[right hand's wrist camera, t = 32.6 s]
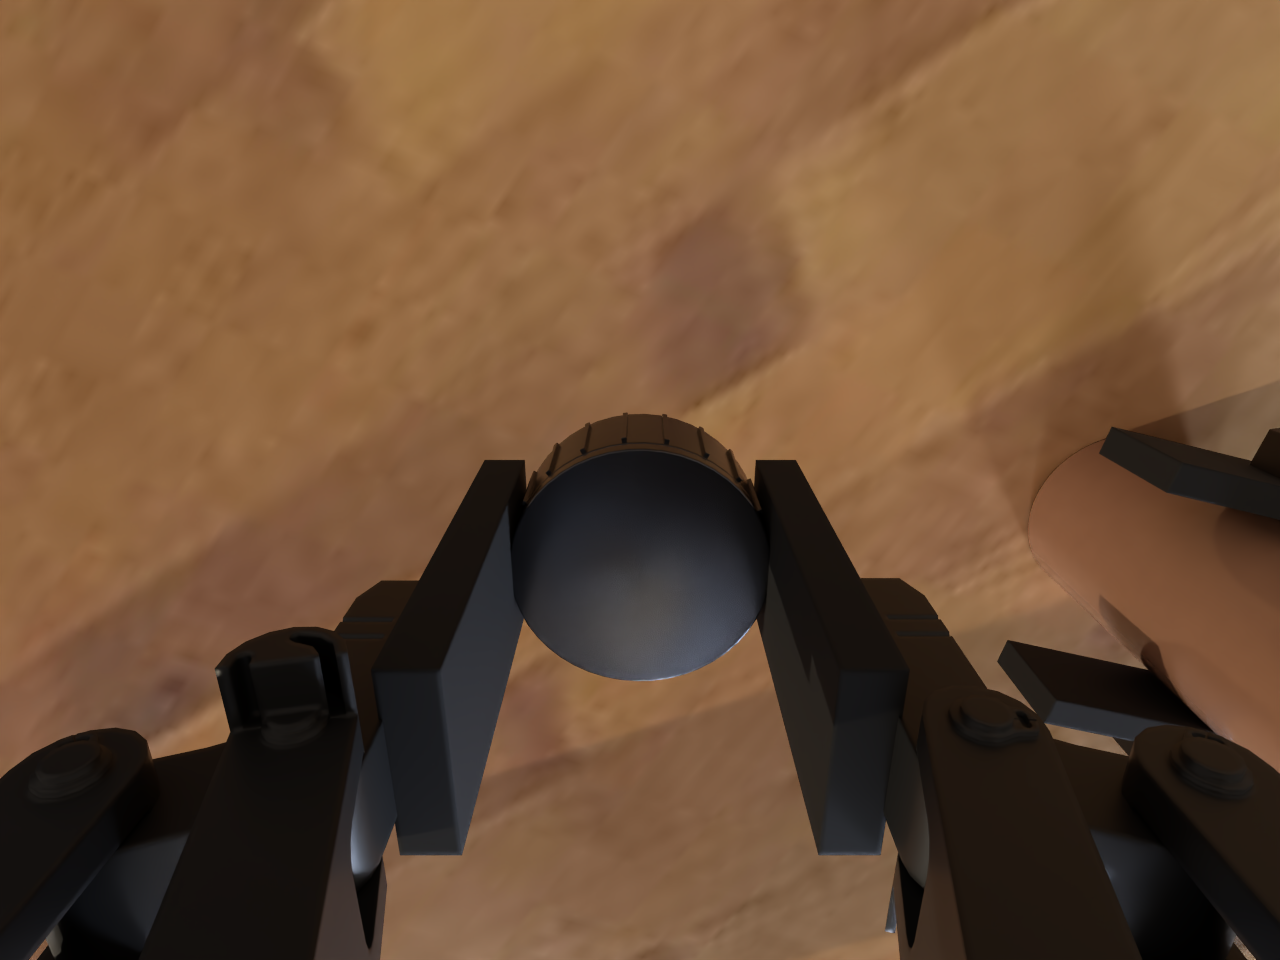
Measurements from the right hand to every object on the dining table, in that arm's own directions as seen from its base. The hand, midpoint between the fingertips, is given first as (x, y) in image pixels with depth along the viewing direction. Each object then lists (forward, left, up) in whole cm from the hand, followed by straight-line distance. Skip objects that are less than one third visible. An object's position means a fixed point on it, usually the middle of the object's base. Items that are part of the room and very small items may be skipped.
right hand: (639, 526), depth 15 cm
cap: (0, 0, +2) cm, 2 cm away
